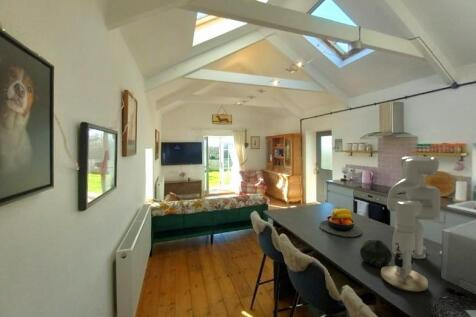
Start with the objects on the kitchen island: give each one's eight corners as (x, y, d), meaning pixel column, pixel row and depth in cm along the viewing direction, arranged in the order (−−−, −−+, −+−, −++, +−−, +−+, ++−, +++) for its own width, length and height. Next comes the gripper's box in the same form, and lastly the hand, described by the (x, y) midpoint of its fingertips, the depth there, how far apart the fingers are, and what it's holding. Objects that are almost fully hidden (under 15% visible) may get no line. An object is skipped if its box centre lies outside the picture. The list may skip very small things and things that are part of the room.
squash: (364, 244, 140) (362, 231, 131) (393, 252, 130) (393, 238, 122) (359, 266, 132) (356, 253, 124) (390, 276, 123) (389, 263, 114)
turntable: (427, 277, 110) (427, 261, 110) (428, 296, 96) (429, 277, 96) (383, 265, 121) (383, 251, 121) (378, 281, 107) (379, 264, 107)
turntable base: (397, 273, 118) (398, 269, 118) (429, 288, 105) (429, 284, 105) (379, 278, 113) (379, 275, 113) (409, 295, 100) (409, 291, 100)
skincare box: (406, 276, 105) (407, 250, 105) (395, 272, 109) (396, 247, 108) (411, 272, 109) (412, 247, 108) (400, 268, 112) (401, 244, 112)
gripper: (408, 223, 114) (407, 258, 115) (384, 227, 108) (383, 264, 109) (425, 227, 107) (424, 265, 108) (400, 233, 101) (399, 272, 102)
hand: (403, 264), depth 109 cm, fingers closed on skincare box, 6 cm apart
